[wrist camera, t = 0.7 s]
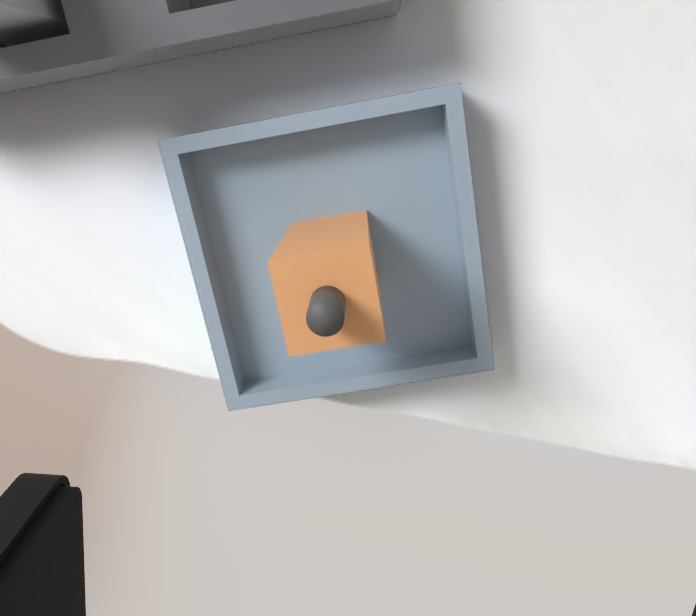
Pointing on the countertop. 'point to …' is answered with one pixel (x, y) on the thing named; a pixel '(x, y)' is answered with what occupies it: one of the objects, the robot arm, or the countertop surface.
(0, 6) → the twin plug
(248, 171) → the tray
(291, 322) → the plug
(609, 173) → the countertop surface
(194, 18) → the grey two-slot holder
